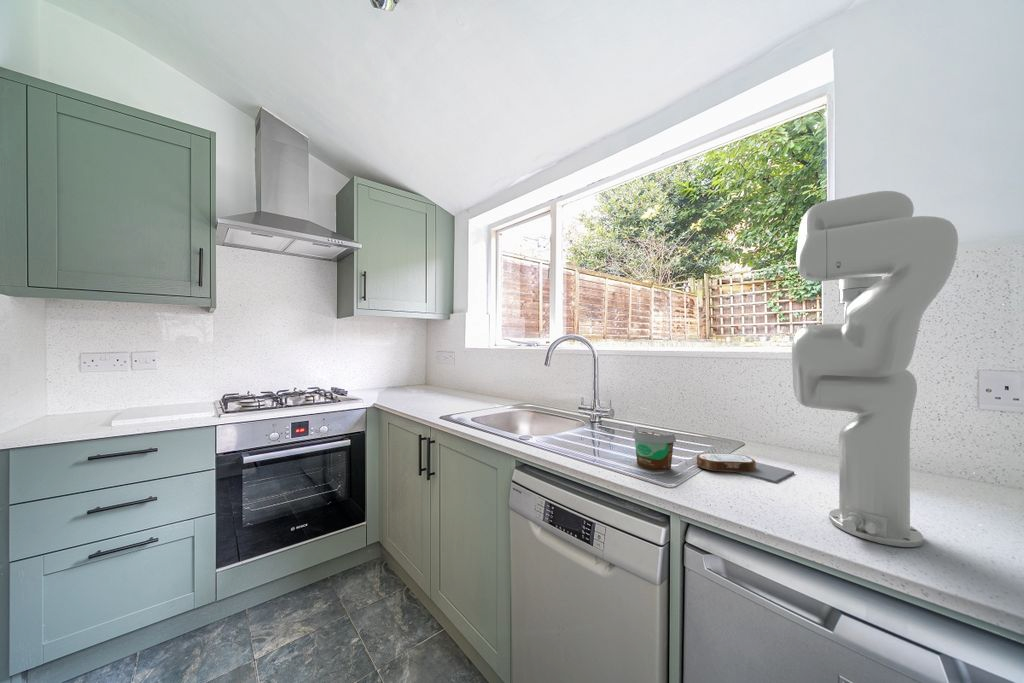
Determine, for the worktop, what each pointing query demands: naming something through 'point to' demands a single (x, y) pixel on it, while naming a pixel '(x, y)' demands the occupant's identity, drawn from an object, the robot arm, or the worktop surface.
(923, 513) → the worktop surface
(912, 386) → the robot arm
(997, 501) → the worktop surface
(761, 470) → the mat
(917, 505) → the worktop surface
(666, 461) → the food container
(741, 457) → the tin
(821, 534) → the worktop surface
